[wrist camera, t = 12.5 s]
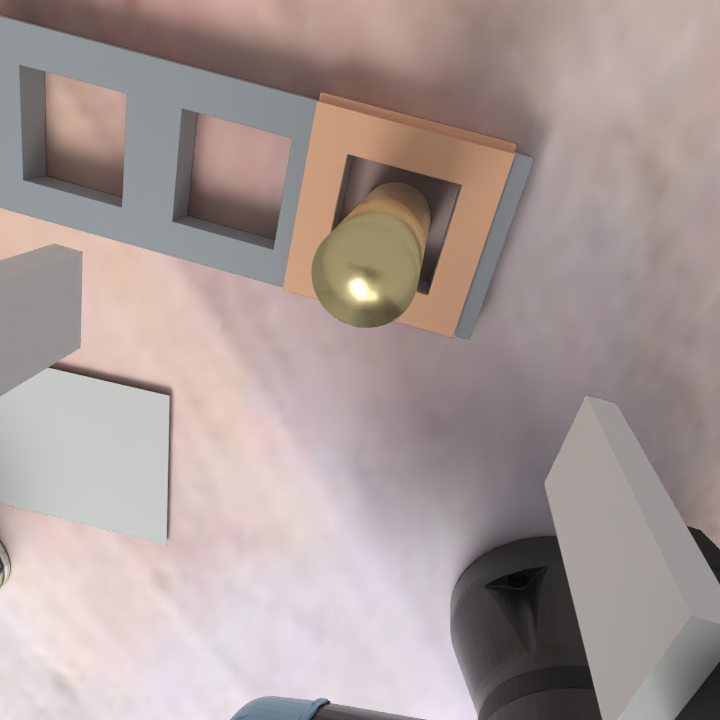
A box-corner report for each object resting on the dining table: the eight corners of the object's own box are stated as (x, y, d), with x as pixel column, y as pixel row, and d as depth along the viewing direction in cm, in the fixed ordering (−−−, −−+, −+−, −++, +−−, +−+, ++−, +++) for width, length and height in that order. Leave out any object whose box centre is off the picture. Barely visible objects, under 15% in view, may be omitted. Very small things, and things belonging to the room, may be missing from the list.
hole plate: (532, 147, 29) (538, 150, 27) (468, 327, 33) (469, 342, 31) (-9, 4, 30) (-45, -5, 28) (1, 196, 34) (-29, 202, 32)
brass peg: (439, 192, 30) (431, 239, 20) (419, 261, 32) (401, 339, 21) (369, 173, 30) (323, 209, 20) (353, 243, 32) (302, 311, 21)
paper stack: (-68, 209, 36) (-78, 210, 35) (304, 288, 34) (302, 291, 34) (-21, 491, 46) (-28, 496, 45) (269, 563, 44) (266, 570, 44)
